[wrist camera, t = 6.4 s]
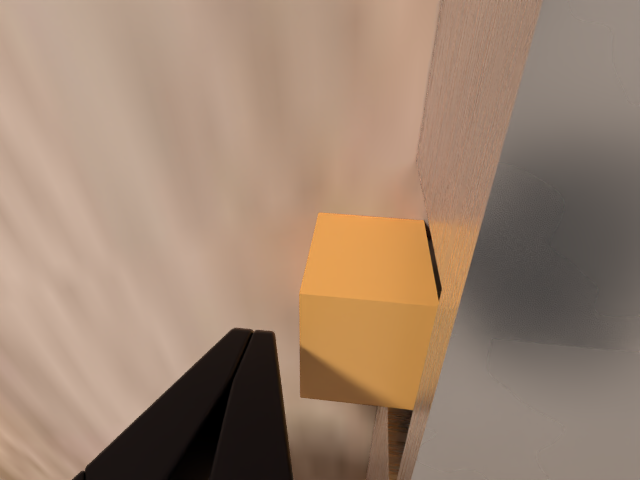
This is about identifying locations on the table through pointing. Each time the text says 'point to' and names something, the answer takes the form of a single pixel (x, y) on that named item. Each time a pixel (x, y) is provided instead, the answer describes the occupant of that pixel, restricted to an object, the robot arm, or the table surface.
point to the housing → (529, 248)
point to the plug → (367, 310)
